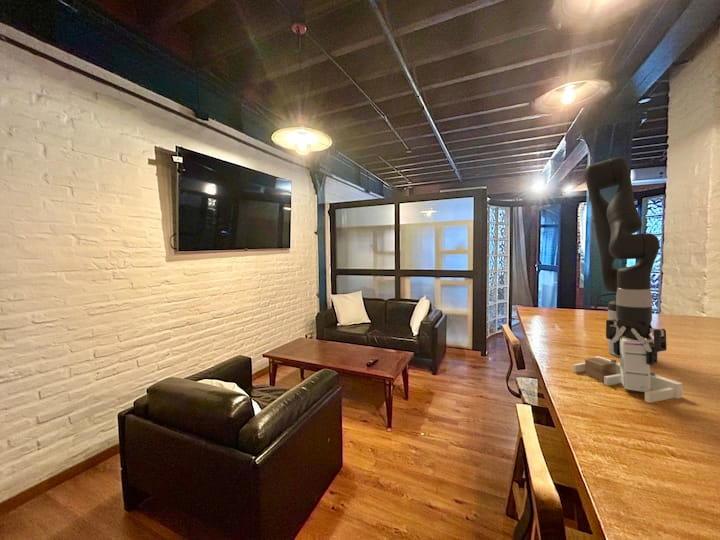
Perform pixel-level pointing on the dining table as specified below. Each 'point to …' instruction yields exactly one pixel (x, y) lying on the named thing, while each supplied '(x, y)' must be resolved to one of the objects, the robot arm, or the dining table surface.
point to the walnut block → (599, 368)
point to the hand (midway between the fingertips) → (634, 359)
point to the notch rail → (657, 383)
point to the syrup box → (634, 365)
